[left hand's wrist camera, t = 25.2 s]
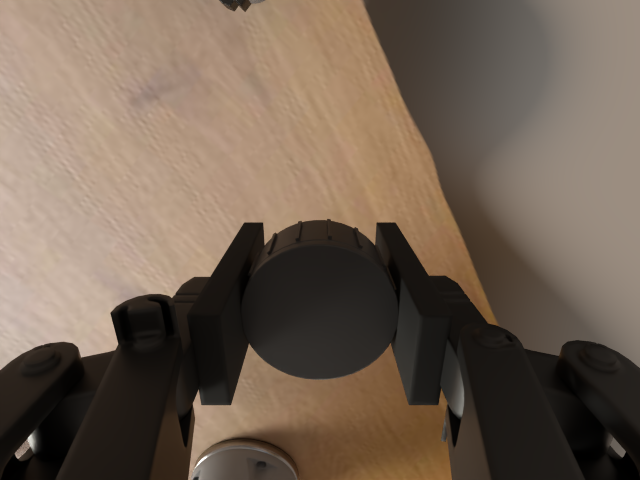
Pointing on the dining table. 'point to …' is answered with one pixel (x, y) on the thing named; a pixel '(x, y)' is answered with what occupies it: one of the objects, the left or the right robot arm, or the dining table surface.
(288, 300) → the lid
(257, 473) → the left robot arm
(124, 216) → the dining table surface
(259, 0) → the jar
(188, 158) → the dining table surface
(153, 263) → the dining table surface
